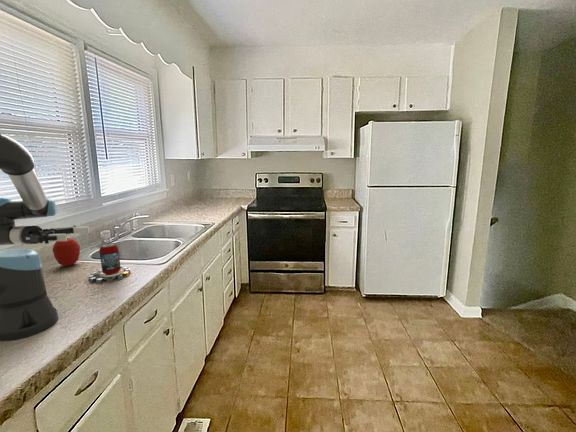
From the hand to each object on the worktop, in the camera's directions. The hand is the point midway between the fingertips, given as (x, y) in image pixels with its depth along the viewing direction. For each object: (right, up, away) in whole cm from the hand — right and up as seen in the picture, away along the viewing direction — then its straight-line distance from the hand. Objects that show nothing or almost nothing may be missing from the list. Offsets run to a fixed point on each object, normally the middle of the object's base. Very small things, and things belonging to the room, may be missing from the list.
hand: (78, 233), depth 130 cm
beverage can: (+12, -17, +3) cm, 21 cm away
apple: (-16, -16, +19) cm, 29 cm away
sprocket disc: (+11, -18, +3) cm, 22 cm away
